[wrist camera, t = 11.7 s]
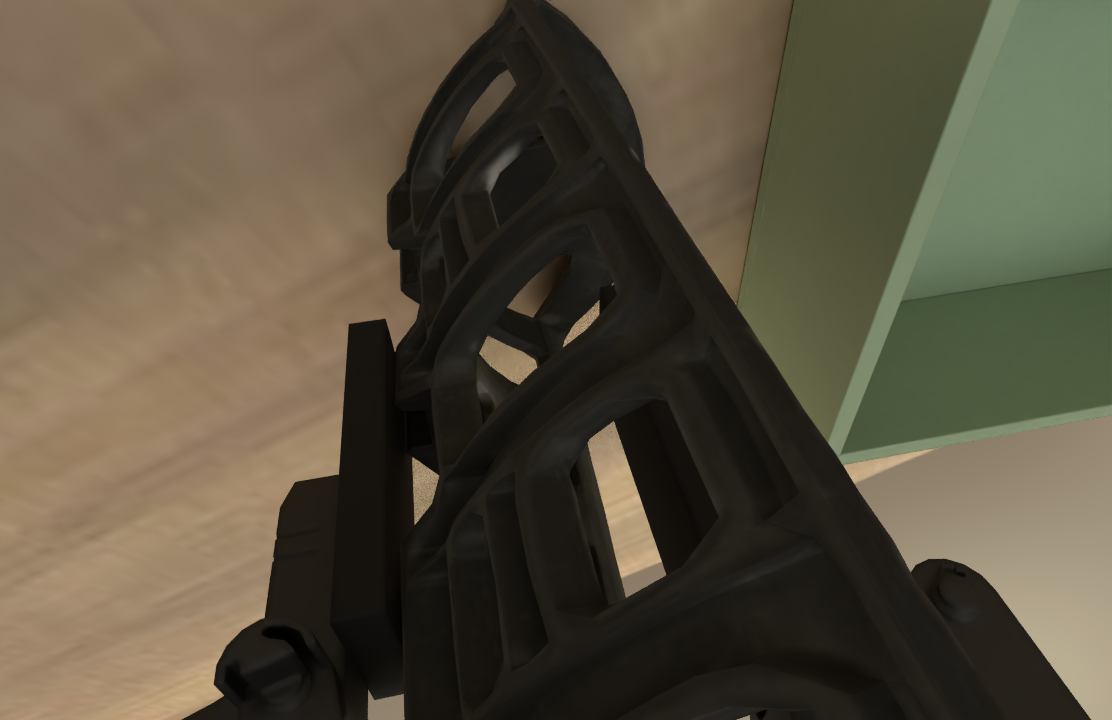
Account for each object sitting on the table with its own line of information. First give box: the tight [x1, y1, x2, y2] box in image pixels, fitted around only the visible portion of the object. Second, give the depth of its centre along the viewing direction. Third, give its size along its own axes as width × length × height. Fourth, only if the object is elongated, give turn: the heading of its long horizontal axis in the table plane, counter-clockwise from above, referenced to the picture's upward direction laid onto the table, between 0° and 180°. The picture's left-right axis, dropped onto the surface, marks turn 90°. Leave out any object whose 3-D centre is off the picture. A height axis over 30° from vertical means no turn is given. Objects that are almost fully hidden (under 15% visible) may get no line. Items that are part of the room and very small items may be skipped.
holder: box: [387, 0, 1009, 720], centre depth 13 cm, size 11×8×20 cm
